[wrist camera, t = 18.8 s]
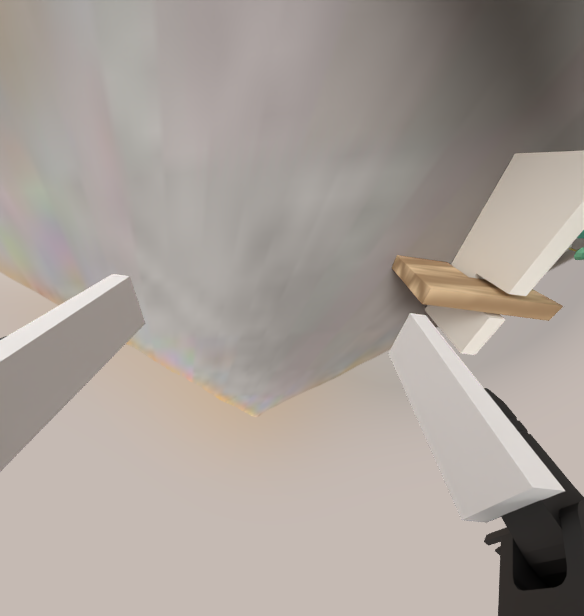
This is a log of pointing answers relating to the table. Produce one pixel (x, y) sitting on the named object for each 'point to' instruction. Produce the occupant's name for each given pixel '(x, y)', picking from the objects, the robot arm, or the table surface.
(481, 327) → the cream slotted board
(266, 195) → the table surface
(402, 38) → the table surface
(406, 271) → the tan faceted tapered block
